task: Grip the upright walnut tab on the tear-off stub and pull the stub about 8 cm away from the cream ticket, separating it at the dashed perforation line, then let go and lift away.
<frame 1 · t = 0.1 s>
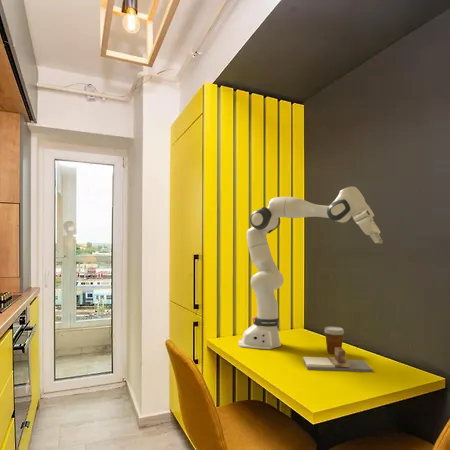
hand: (379, 242, 162), 54 cm above the table, tool tilted 30°, fingers open, 8 cm apart
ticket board: (336, 366, 156), on the table
disposable coffee cup: (334, 353, 174), on the table
stub: (339, 356, 156), point 4 cm above the table, slide at 0.0 cm
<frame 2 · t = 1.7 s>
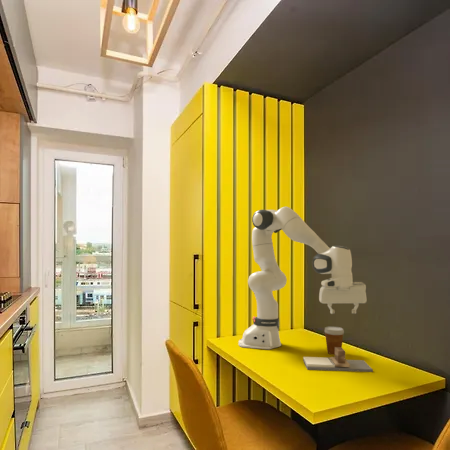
hand: (343, 313, 157), 23 cm above the table, tool pointing down, fingers open, 8 cm apart
nothing on the table moved.
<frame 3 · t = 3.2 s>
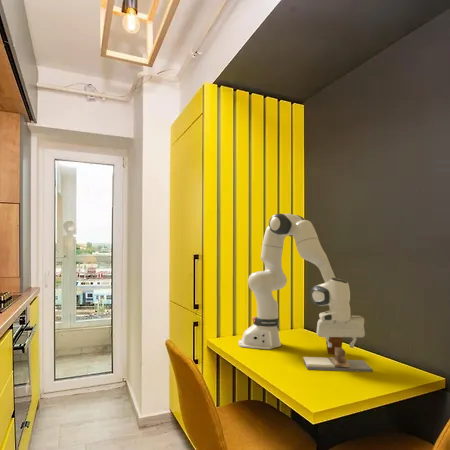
hand: (340, 347, 156), 8 cm above the table, tool pointing down, fingers open, 8 cm apart
nothing on the table moved.
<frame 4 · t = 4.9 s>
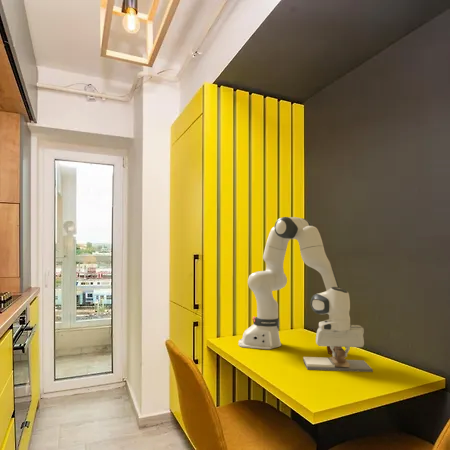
hand: (339, 356, 156), 4 cm above the table, tool pointing down, fingers closed on stub, 3 cm apart
stub: (339, 356, 156), point 4 cm above the table, slide at 0.0 cm, touching gripper
everything else where it was.
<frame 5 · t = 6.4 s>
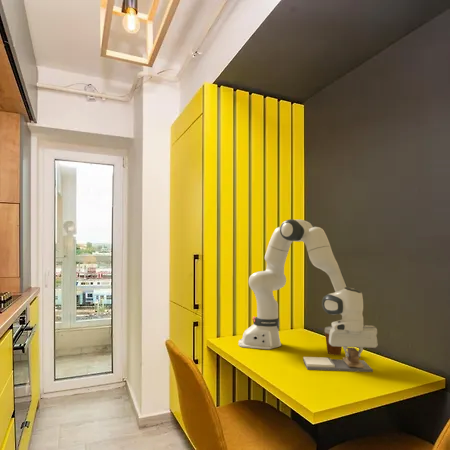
hand: (352, 356, 155), 4 cm above the table, tool pointing down, fingers closed on stub, 3 cm apart
stub: (352, 356, 155), point 4 cm above the table, slide at 5.6 cm, touching gripper
everything else where it was.
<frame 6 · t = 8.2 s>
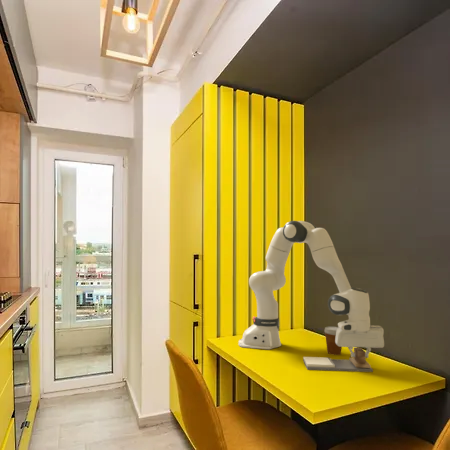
hand: (359, 357, 155), 4 cm above the table, tool pointing down, fingers open, 4 cm apart
stub: (359, 356, 155), point 4 cm above the table, slide at 8.5 cm
everything else where it was.
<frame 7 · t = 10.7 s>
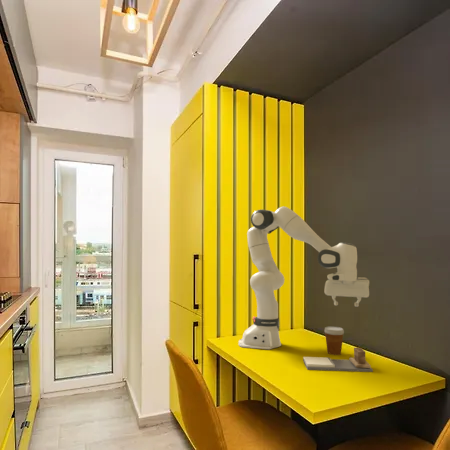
hand: (346, 305, 168), 24 cm above the table, tool pointing down, fingers open, 8 cm apart
nothing on the table moved.
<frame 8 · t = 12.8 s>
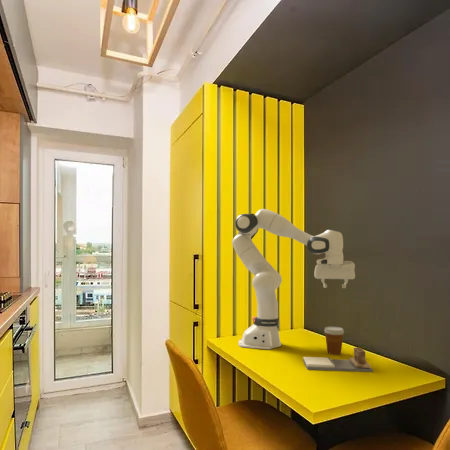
hand: (334, 287, 183), 31 cm above the table, tool pointing down, fingers open, 8 cm apart
nothing on the table moved.
at the end: stub slide at 8.5 cm; disposable coffee cup moved 0.2 cm from its start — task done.
